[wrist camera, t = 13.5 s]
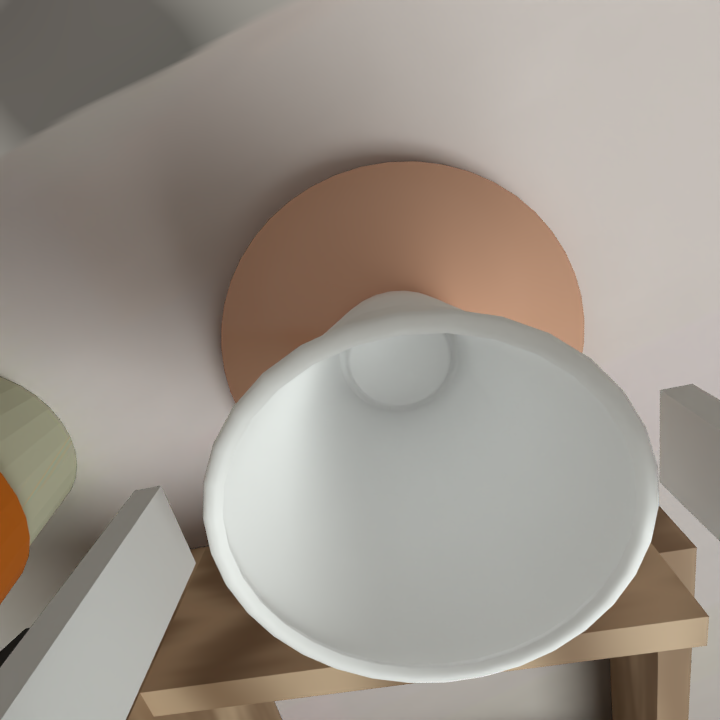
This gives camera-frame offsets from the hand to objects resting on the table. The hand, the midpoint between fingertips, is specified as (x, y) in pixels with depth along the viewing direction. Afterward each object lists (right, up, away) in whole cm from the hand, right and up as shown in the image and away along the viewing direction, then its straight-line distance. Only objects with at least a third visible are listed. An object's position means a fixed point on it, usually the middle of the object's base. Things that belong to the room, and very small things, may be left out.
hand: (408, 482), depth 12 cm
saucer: (+1, +4, +9) cm, 10 cm away
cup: (0, +3, +8) cm, 9 cm away
